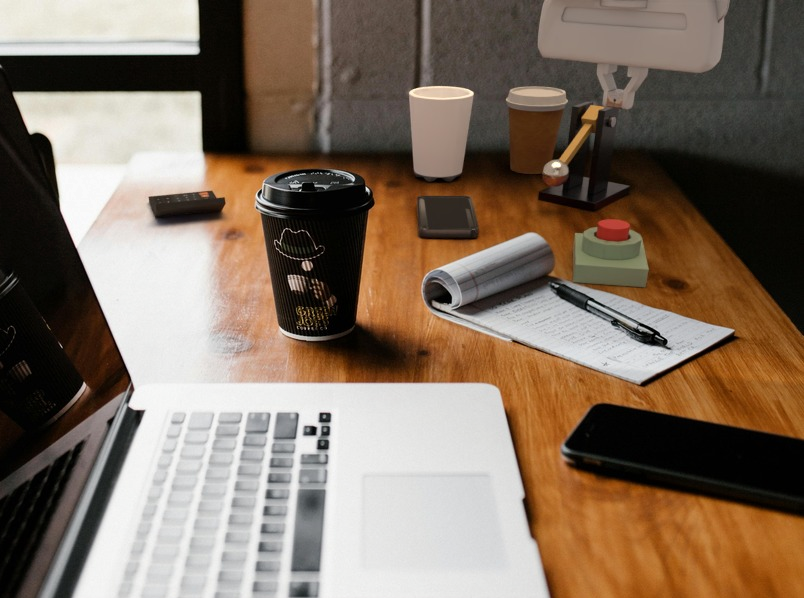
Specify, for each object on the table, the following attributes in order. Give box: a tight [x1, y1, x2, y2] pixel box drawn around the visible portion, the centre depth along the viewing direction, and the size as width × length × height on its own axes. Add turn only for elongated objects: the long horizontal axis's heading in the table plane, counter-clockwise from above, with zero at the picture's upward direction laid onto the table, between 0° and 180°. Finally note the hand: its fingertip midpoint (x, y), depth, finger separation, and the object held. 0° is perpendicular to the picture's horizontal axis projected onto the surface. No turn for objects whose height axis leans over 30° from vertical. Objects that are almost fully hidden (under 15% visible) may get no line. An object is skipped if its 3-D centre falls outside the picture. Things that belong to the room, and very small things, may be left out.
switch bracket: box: [537, 101, 631, 212], centre depth 124 cm, size 11×9×13 cm
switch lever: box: [541, 104, 606, 187], centre depth 120 cm, size 14×4×4 cm
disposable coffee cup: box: [505, 86, 569, 175], centre depth 137 cm, size 10×10×12 cm
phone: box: [416, 194, 480, 239], centre depth 118 cm, size 8×1×15 cm
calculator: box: [148, 190, 226, 218], centre depth 122 cm, size 9×12×3 cm
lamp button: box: [596, 218, 631, 242], centre depth 100 cm, size 4×4×2 cm
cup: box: [408, 85, 475, 183], centre depth 133 cm, size 10×10×13 cm
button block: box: [572, 226, 650, 288], centre depth 101 cm, size 11×8×4 cm
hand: (617, 107), depth 97 cm, fingers closed
